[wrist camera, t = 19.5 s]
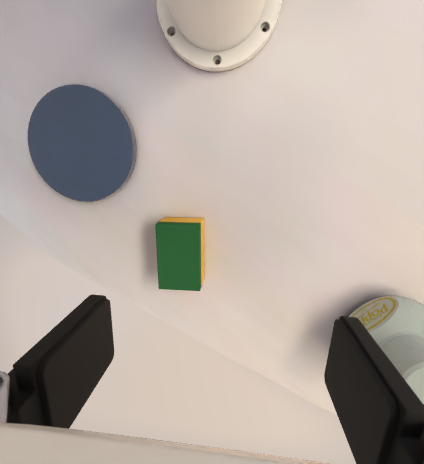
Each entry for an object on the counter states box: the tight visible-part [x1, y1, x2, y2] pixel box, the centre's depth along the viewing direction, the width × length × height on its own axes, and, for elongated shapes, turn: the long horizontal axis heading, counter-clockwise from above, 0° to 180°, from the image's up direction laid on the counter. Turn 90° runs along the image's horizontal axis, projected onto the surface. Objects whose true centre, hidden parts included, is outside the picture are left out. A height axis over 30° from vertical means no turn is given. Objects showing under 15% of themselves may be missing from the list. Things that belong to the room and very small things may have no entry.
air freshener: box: [348, 296, 424, 404], centre depth 28 cm, size 11×8×10 cm
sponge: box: [156, 217, 204, 291], centre depth 31 cm, size 8×5×4 cm, turn 0°
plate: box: [28, 85, 136, 202], centre depth 31 cm, size 13×13×2 cm
